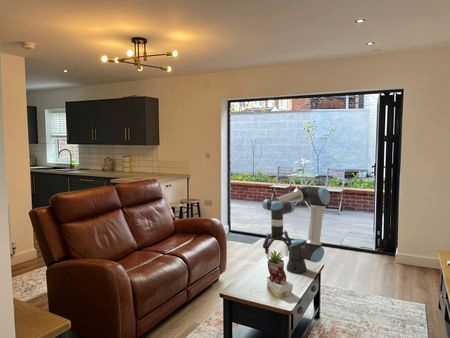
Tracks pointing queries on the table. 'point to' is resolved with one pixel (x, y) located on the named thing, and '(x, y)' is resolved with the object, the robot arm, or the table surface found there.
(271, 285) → the cream flat block
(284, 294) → the block
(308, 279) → the table surface
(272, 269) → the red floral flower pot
